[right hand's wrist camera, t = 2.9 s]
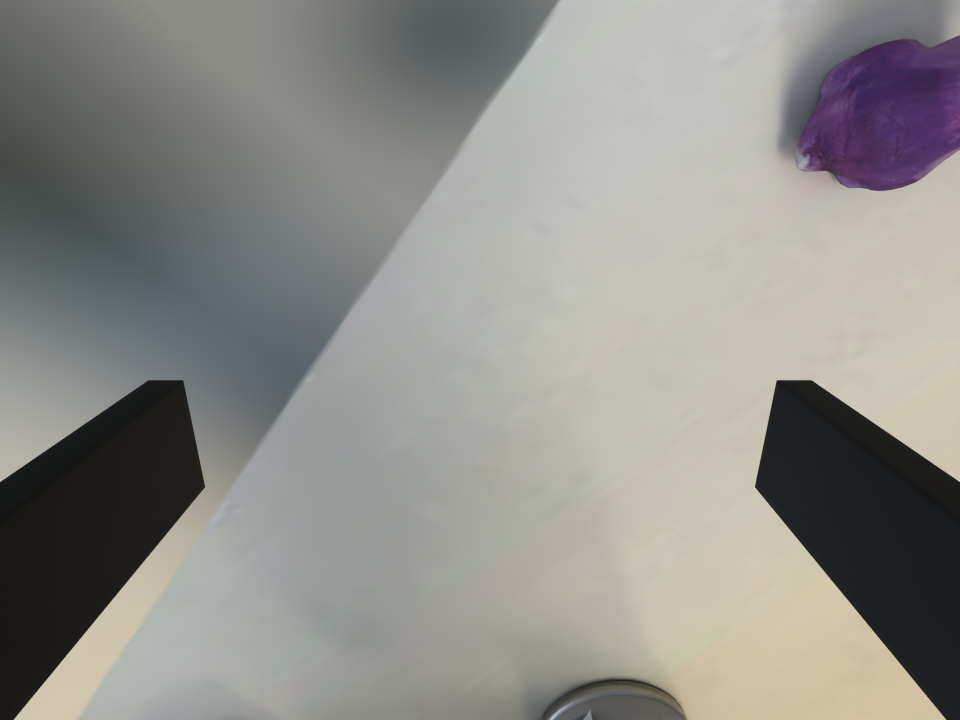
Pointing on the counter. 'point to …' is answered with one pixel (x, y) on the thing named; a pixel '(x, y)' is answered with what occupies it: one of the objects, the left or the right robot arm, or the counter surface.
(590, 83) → the counter surface
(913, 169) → the figurine
